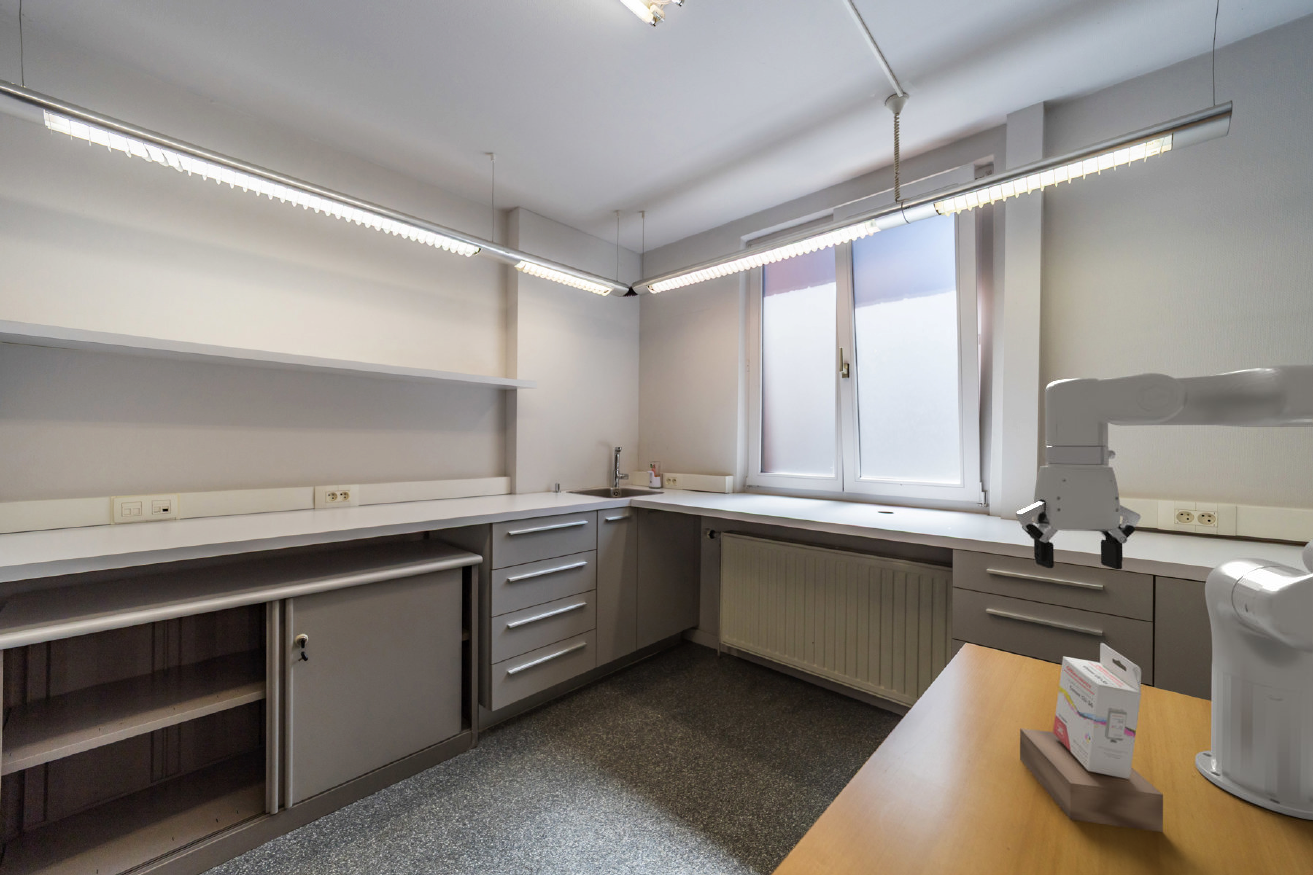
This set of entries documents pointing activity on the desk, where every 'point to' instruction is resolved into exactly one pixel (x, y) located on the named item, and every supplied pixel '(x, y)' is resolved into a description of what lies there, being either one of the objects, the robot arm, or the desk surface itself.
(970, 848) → the desk surface
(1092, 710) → the ink cartridge box
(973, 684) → the desk surface
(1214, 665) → the robot arm
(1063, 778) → the walnut block
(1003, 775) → the desk surface
